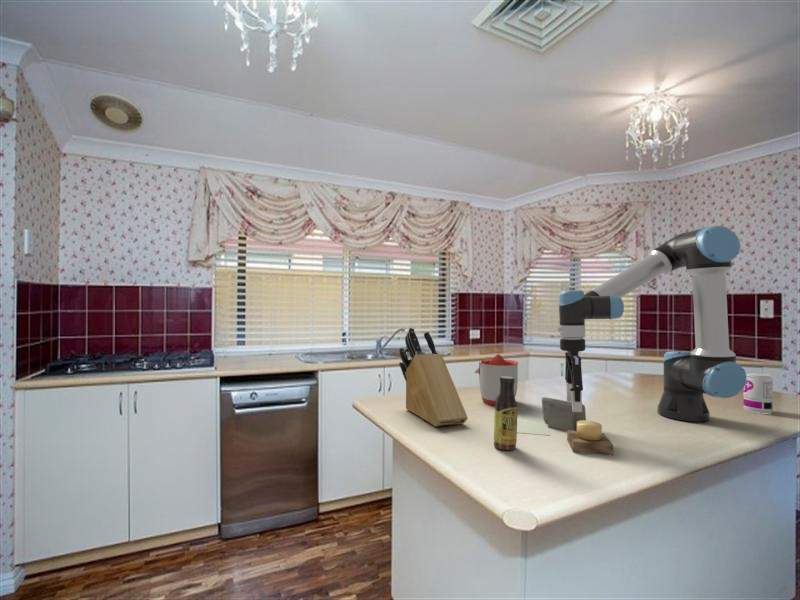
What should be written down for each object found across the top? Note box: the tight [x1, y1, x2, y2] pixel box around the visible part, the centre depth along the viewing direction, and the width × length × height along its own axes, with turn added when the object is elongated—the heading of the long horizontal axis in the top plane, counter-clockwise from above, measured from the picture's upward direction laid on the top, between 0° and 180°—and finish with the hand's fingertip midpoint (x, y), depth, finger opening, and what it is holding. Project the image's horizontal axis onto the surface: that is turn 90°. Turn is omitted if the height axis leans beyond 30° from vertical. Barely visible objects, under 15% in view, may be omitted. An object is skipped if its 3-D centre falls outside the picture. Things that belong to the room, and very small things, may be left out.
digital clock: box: [541, 396, 587, 432], centre depth 131 cm, size 14×8×9 cm, turn 39°
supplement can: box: [742, 372, 774, 413], centre depth 149 cm, size 8×8×15 cm
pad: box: [517, 417, 551, 437], centre depth 133 cm, size 13×17×1 cm
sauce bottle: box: [493, 376, 518, 451], centre depth 113 cm, size 7×6×20 cm
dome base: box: [566, 430, 614, 457], centre depth 113 cm, size 10×10×3 cm
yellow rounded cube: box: [576, 419, 603, 440], centre depth 113 cm, size 6×6×6 cm
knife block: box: [398, 327, 469, 427], centre depth 146 cm, size 11×35×31 cm, turn 23°
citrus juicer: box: [474, 353, 519, 407], centre depth 162 cm, size 16×17×20 cm
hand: (574, 407), depth 130 cm, fingers open, 10 cm apart
